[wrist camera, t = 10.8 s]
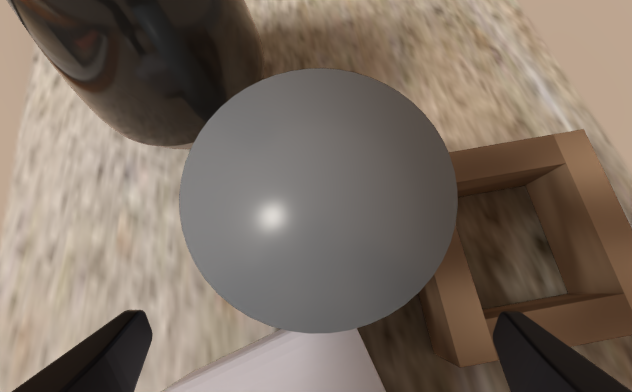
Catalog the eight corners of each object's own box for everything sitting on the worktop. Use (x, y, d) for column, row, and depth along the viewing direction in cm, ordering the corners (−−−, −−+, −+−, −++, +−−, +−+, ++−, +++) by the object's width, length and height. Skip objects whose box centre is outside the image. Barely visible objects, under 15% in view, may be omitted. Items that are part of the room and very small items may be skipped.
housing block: (610, 319, 17) (678, 325, 14) (434, 353, 17) (460, 367, 14) (541, 156, 20) (583, 129, 17) (389, 182, 20) (402, 160, 17)
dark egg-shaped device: (137, 191, 20) (-320, -59, 6) (123, 63, 23) (-203, -309, 9) (290, 151, 21) (213, -167, 6) (257, 31, 24) (154, -368, 10)
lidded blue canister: (395, 274, 18) (517, 243, 7) (297, 327, 17) (244, 395, 6) (343, 183, 20) (368, 33, 8) (252, 228, 19) (143, 132, 8)
